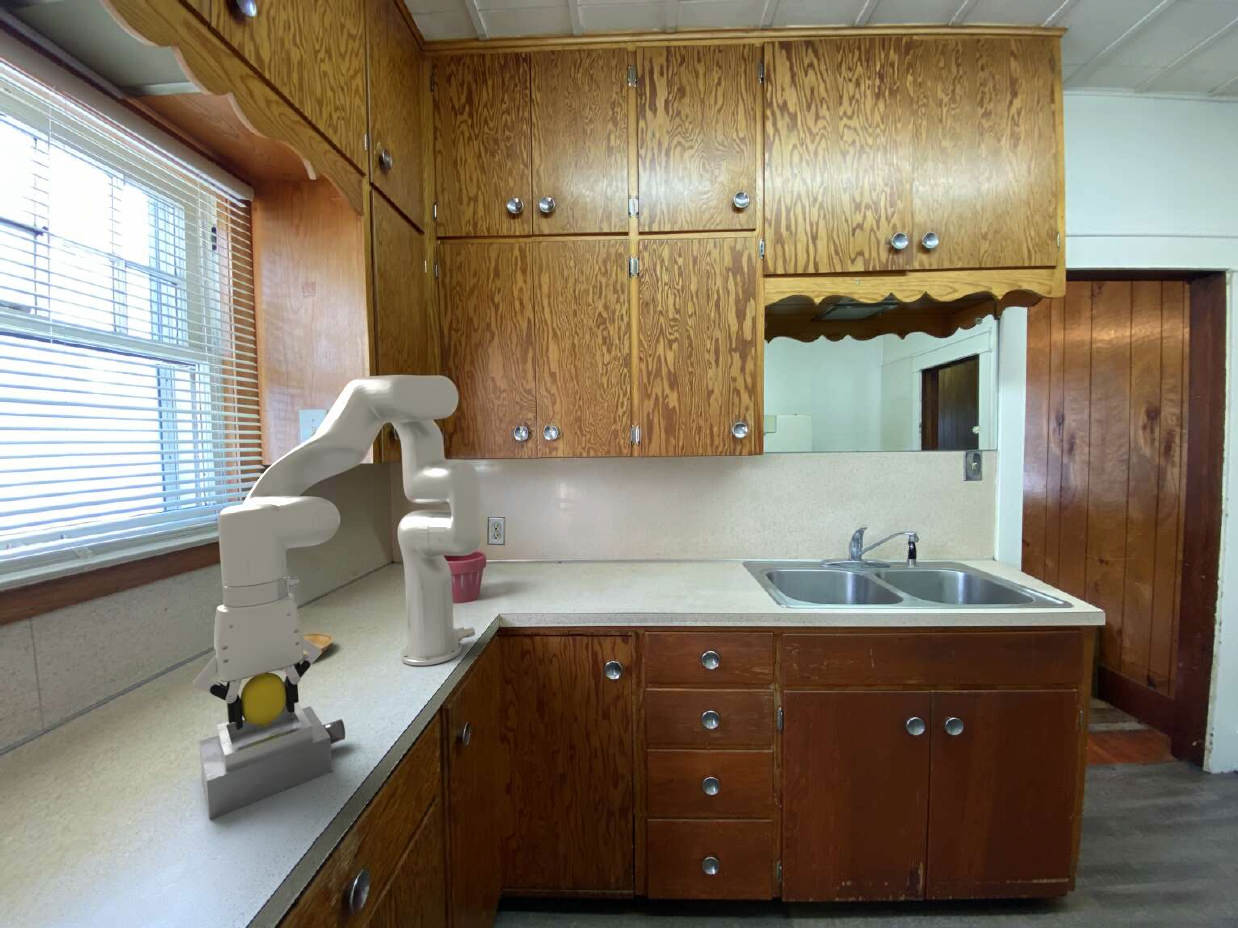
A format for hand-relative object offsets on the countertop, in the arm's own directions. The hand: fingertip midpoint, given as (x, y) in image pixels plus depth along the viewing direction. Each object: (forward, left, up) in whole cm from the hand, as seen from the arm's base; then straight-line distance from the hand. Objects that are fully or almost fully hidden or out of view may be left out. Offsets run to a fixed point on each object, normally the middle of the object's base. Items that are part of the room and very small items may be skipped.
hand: (264, 715), depth 76 cm
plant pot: (-57, -57, -8) cm, 81 cm away
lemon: (0, 0, -2) cm, 2 cm away
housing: (-1, 0, -8) cm, 8 cm away
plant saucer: (-12, -45, -9) cm, 47 cm away
